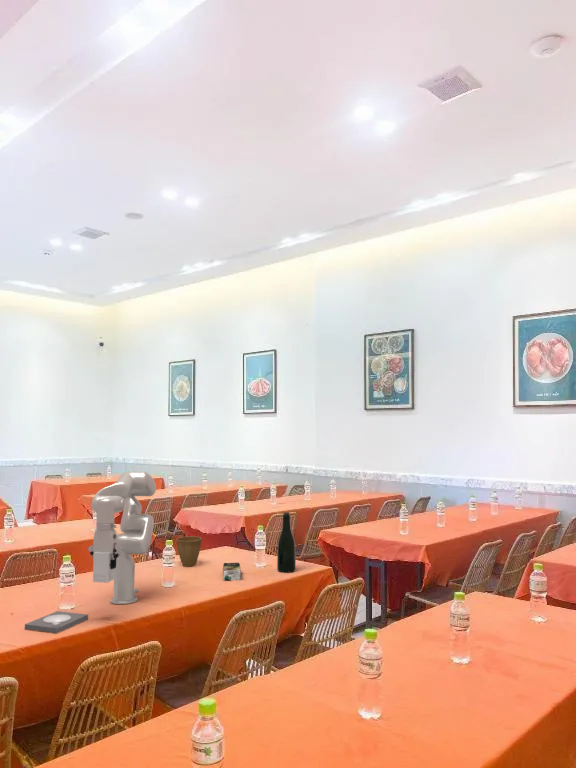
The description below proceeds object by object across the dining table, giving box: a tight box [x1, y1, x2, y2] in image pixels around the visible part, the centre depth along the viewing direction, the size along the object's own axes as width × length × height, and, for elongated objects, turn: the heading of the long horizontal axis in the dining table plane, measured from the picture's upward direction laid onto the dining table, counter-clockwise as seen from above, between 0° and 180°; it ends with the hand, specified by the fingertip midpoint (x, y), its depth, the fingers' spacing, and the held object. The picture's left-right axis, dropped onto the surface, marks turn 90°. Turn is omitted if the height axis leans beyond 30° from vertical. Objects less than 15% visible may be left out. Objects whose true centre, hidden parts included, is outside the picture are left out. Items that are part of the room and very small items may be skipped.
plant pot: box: [176, 535, 202, 568], centre depth 386 cm, size 15×15×16 cm
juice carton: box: [222, 562, 242, 582], centre depth 359 cm, size 20×10×6 cm, turn 6°
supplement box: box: [92, 552, 116, 584], centre depth 282 cm, size 7×7×13 cm
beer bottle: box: [276, 512, 297, 573], centre depth 374 cm, size 10×10×33 cm
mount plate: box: [24, 610, 89, 634], centre depth 273 cm, size 20×16×3 cm
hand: (104, 567), depth 282 cm, fingers closed on supplement box, 8 cm apart
